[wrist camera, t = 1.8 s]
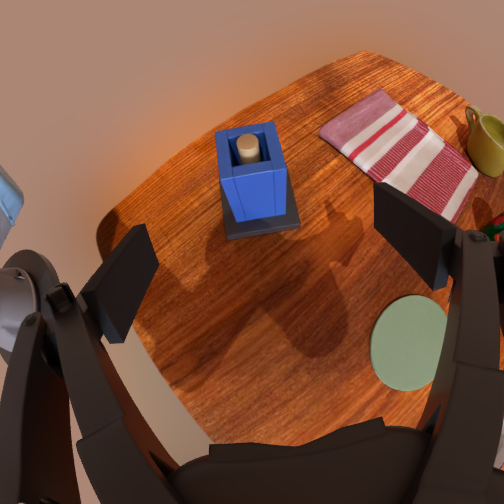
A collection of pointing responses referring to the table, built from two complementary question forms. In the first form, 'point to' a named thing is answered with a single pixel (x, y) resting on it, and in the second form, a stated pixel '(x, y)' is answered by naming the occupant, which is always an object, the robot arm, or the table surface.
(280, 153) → the sleeve
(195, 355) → the table surface
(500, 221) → the soda can
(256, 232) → the dowel stand
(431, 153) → the dish towel
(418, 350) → the coaster
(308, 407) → the table surface
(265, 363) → the table surface
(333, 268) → the table surface
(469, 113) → the mug
